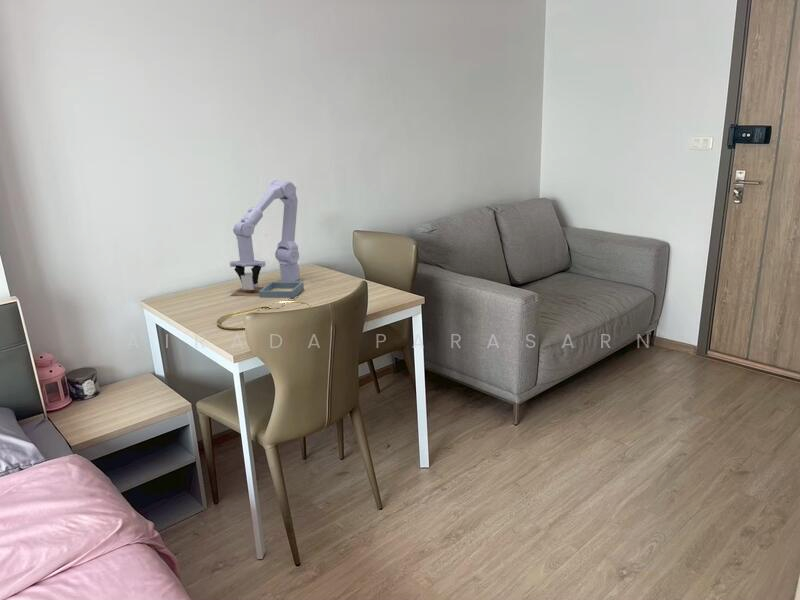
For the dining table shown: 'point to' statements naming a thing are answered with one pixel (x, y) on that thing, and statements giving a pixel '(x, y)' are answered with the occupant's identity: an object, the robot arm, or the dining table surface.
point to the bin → (296, 287)
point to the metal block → (248, 281)
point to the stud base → (247, 292)
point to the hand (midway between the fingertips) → (249, 283)
